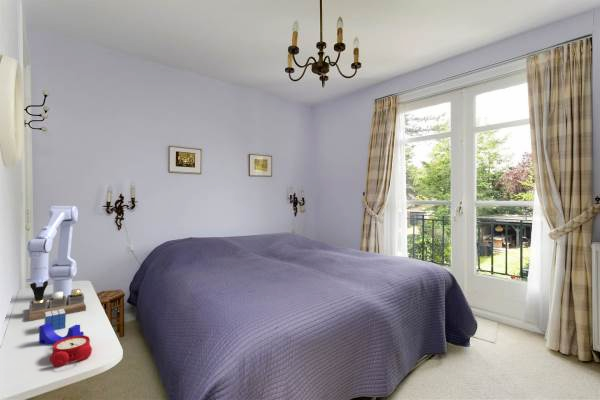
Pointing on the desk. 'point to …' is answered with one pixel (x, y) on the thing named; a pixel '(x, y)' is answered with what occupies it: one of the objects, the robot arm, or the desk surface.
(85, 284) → the desk surface
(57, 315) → the puzzle toy
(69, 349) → the alarm clock
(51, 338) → the blue curved block
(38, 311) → the knob panel
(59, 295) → the knob middle
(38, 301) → the knob
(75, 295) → the knob
